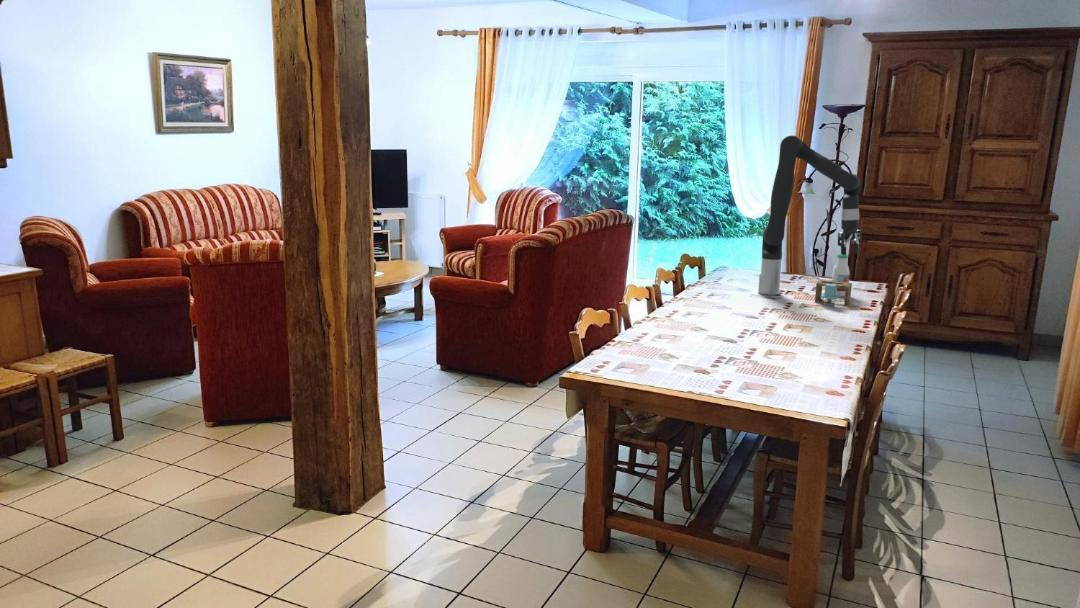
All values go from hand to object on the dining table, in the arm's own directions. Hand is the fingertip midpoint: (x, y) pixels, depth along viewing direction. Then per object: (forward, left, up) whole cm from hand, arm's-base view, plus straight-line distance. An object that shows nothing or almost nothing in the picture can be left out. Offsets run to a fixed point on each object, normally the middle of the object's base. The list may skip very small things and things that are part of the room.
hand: (849, 253), depth 354 cm
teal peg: (-4, -16, -22) cm, 28 cm away
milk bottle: (-4, +10, -22) cm, 25 cm away
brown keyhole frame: (-4, -7, -22) cm, 24 cm away
